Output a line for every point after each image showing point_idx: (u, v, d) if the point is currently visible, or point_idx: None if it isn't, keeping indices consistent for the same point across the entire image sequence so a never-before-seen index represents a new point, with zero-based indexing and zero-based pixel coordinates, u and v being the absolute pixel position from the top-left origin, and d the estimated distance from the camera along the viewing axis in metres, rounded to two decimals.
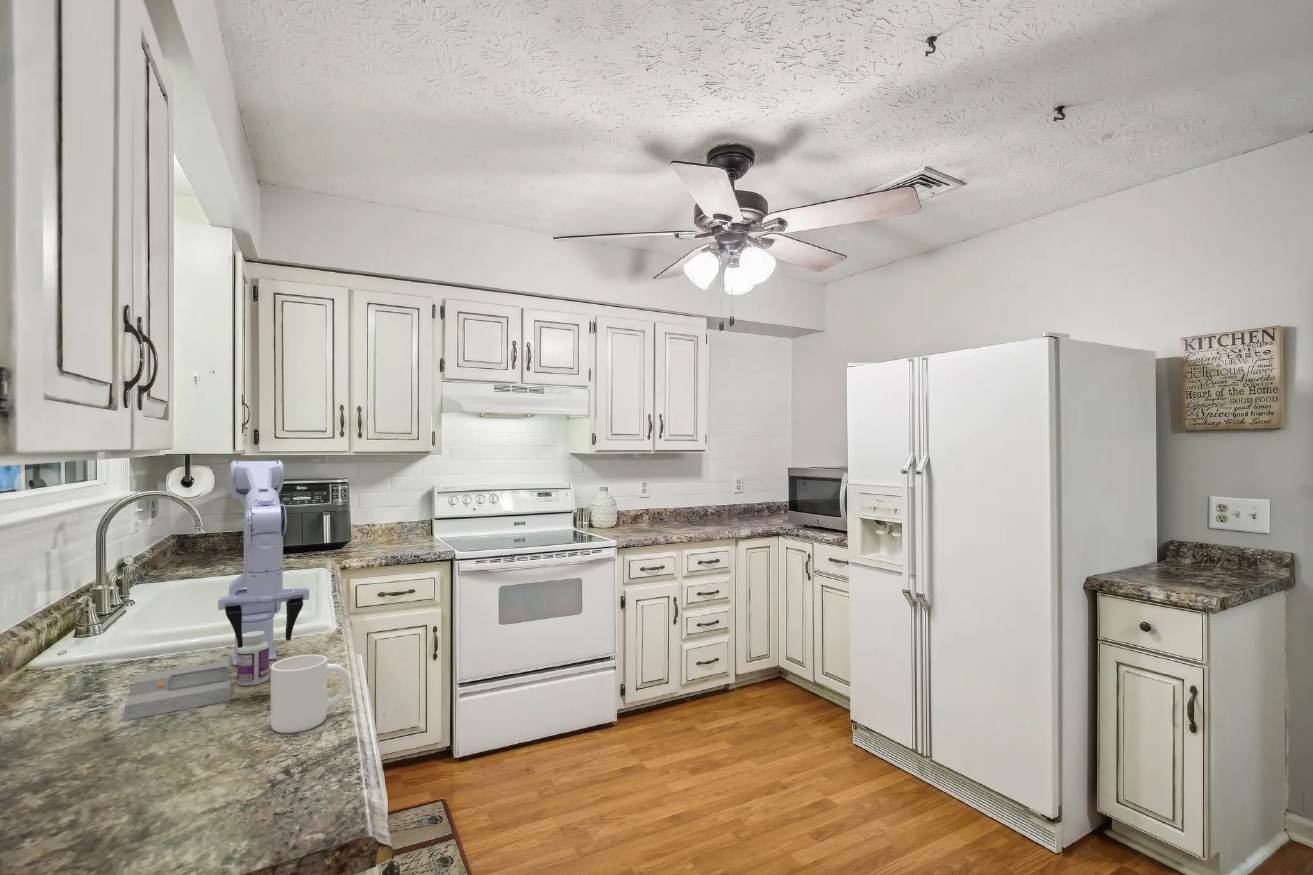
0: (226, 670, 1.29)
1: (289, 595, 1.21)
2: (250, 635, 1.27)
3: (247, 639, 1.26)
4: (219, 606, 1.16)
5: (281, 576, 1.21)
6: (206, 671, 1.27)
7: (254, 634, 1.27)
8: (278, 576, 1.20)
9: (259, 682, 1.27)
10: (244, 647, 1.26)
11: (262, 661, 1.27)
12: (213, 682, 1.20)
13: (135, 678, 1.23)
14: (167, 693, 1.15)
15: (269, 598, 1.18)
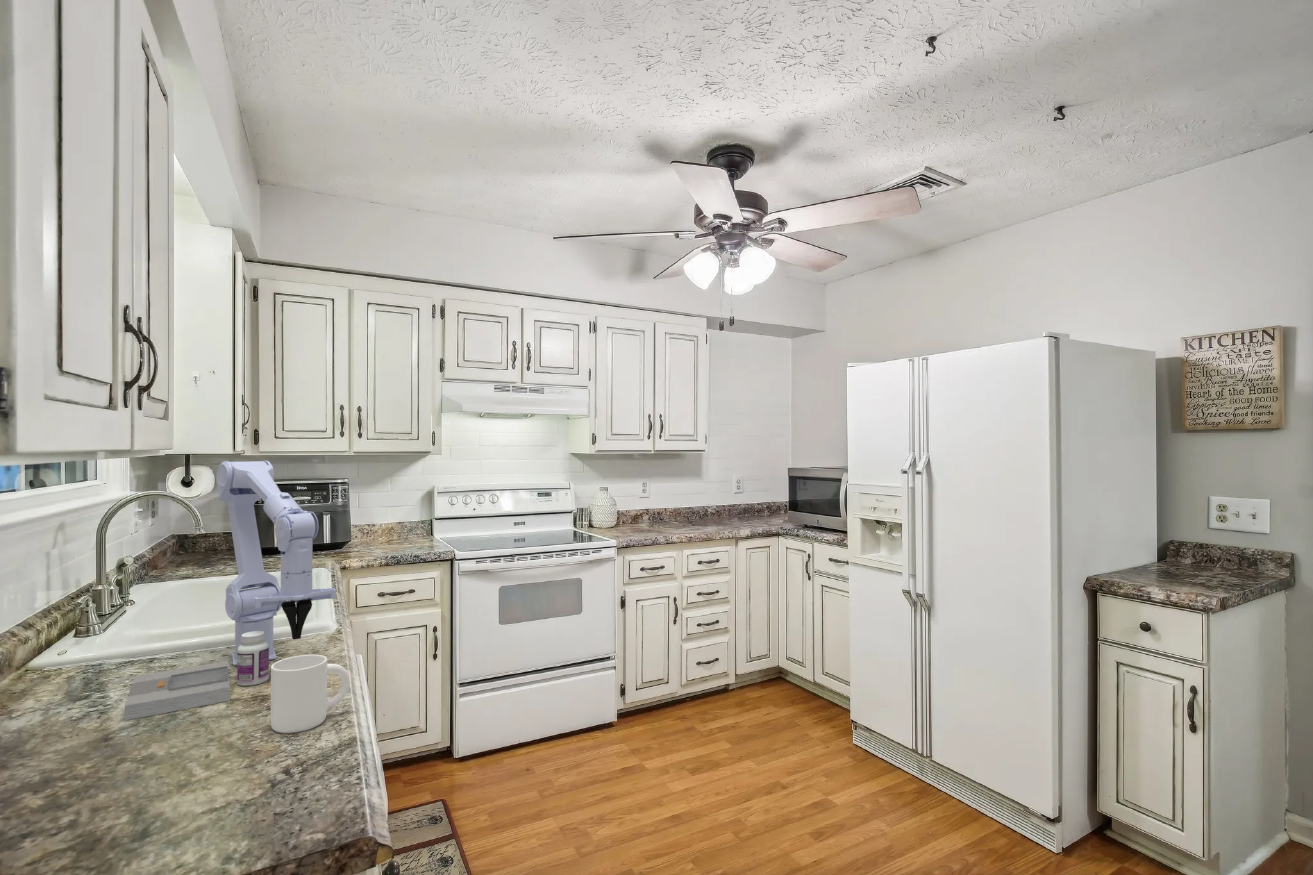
0: (226, 670, 1.29)
1: (318, 594, 1.33)
2: (251, 635, 1.27)
3: (247, 639, 1.26)
4: (256, 604, 1.28)
5: (311, 577, 1.33)
6: (206, 671, 1.27)
7: (254, 634, 1.27)
8: (308, 577, 1.32)
9: (259, 682, 1.27)
10: (244, 647, 1.26)
11: (261, 661, 1.27)
12: (213, 682, 1.20)
13: (135, 678, 1.23)
14: (167, 693, 1.15)
15: (301, 597, 1.30)
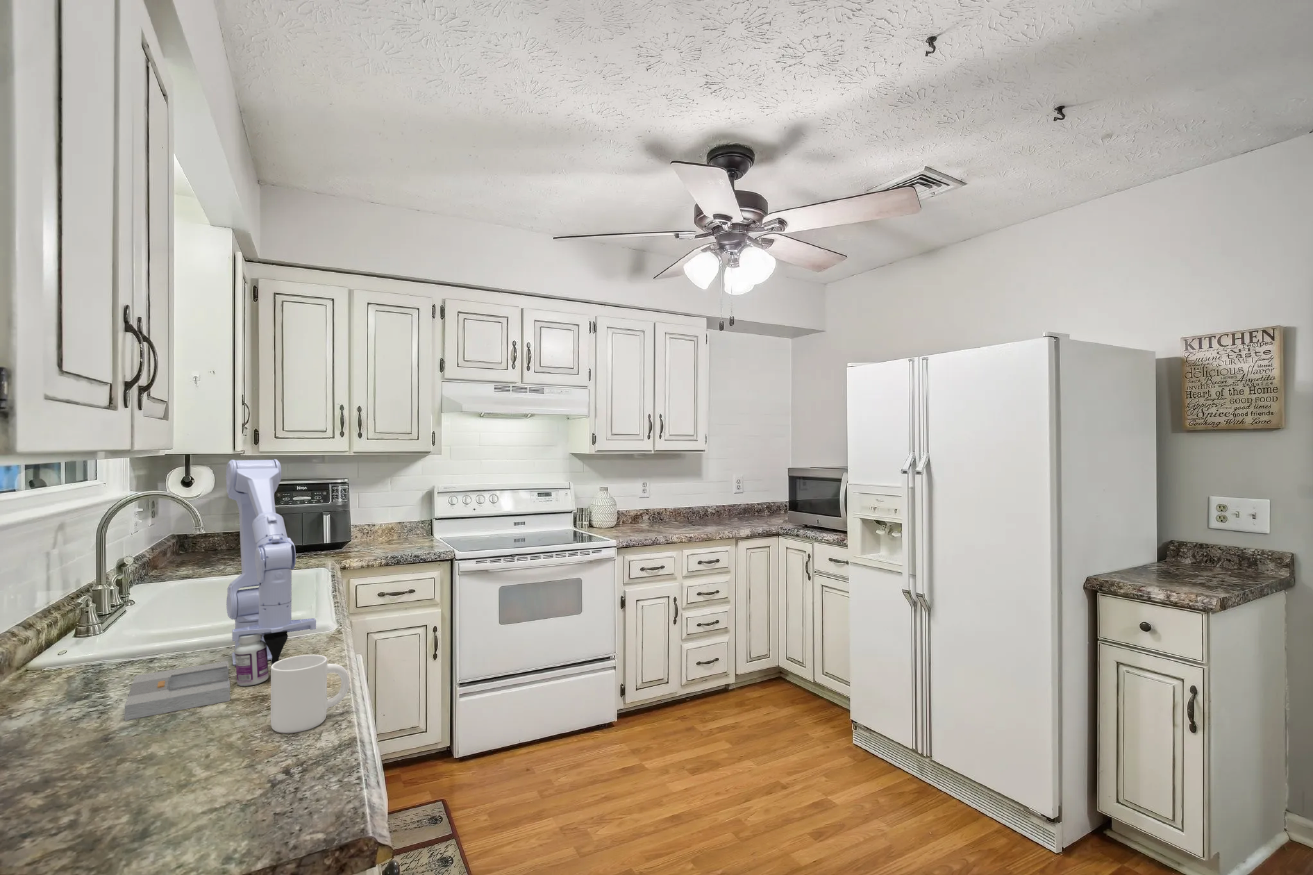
0: (226, 670, 1.29)
1: (297, 626, 1.31)
2: (247, 635, 1.27)
3: (243, 639, 1.26)
4: (233, 637, 1.25)
5: (290, 608, 1.31)
6: (206, 671, 1.27)
7: (251, 634, 1.27)
8: (287, 608, 1.30)
9: (258, 682, 1.26)
10: (241, 647, 1.26)
11: (260, 660, 1.27)
12: (213, 682, 1.20)
13: (135, 678, 1.23)
14: (167, 693, 1.15)
15: (279, 629, 1.27)
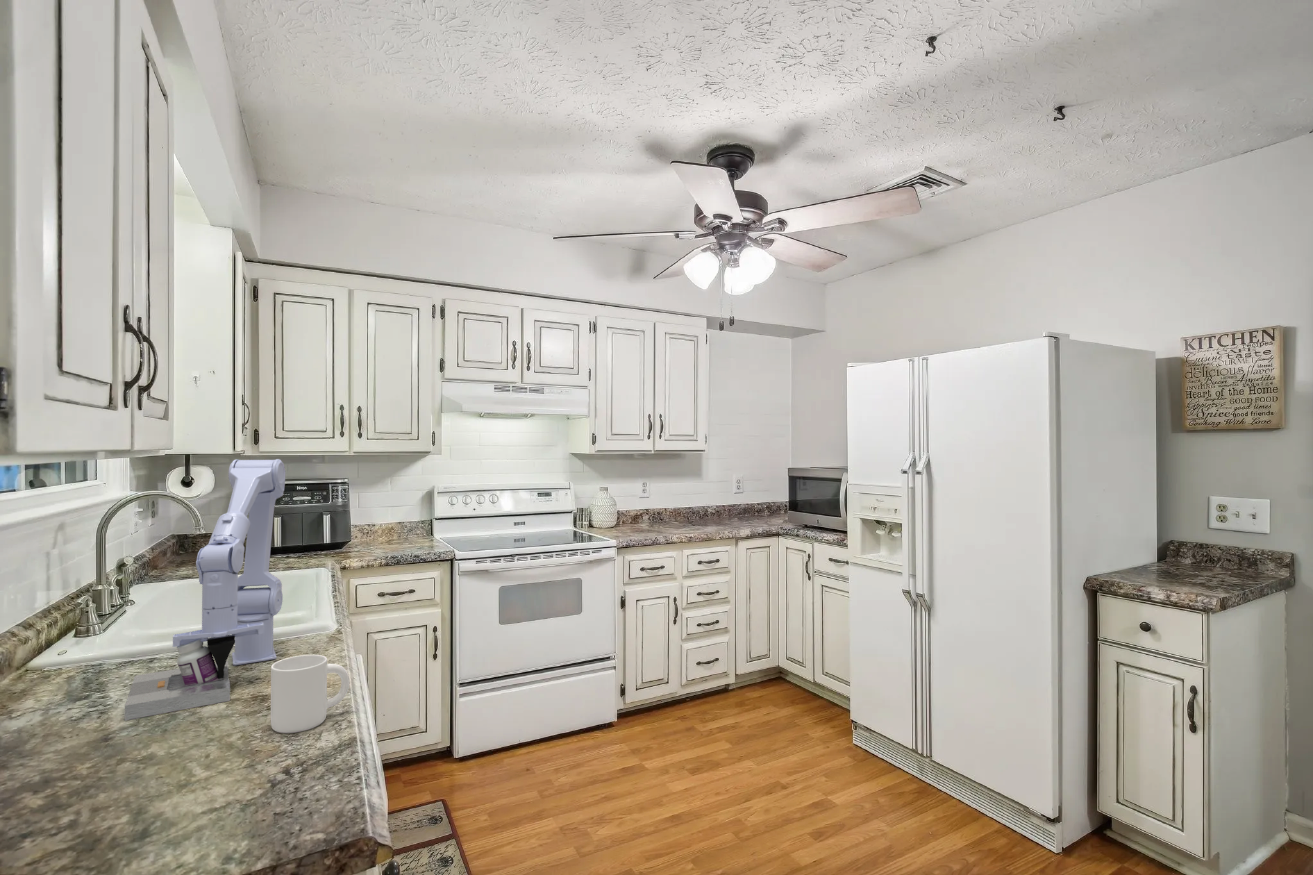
0: (226, 670, 1.29)
1: (243, 630, 1.25)
2: (185, 644, 1.21)
3: (180, 649, 1.20)
4: (174, 643, 1.20)
5: (236, 612, 1.25)
6: None
7: (188, 643, 1.21)
8: (232, 612, 1.24)
9: None
10: (181, 657, 1.20)
11: (203, 668, 1.21)
12: (213, 682, 1.20)
13: (135, 678, 1.23)
14: (167, 693, 1.15)
15: (223, 634, 1.22)
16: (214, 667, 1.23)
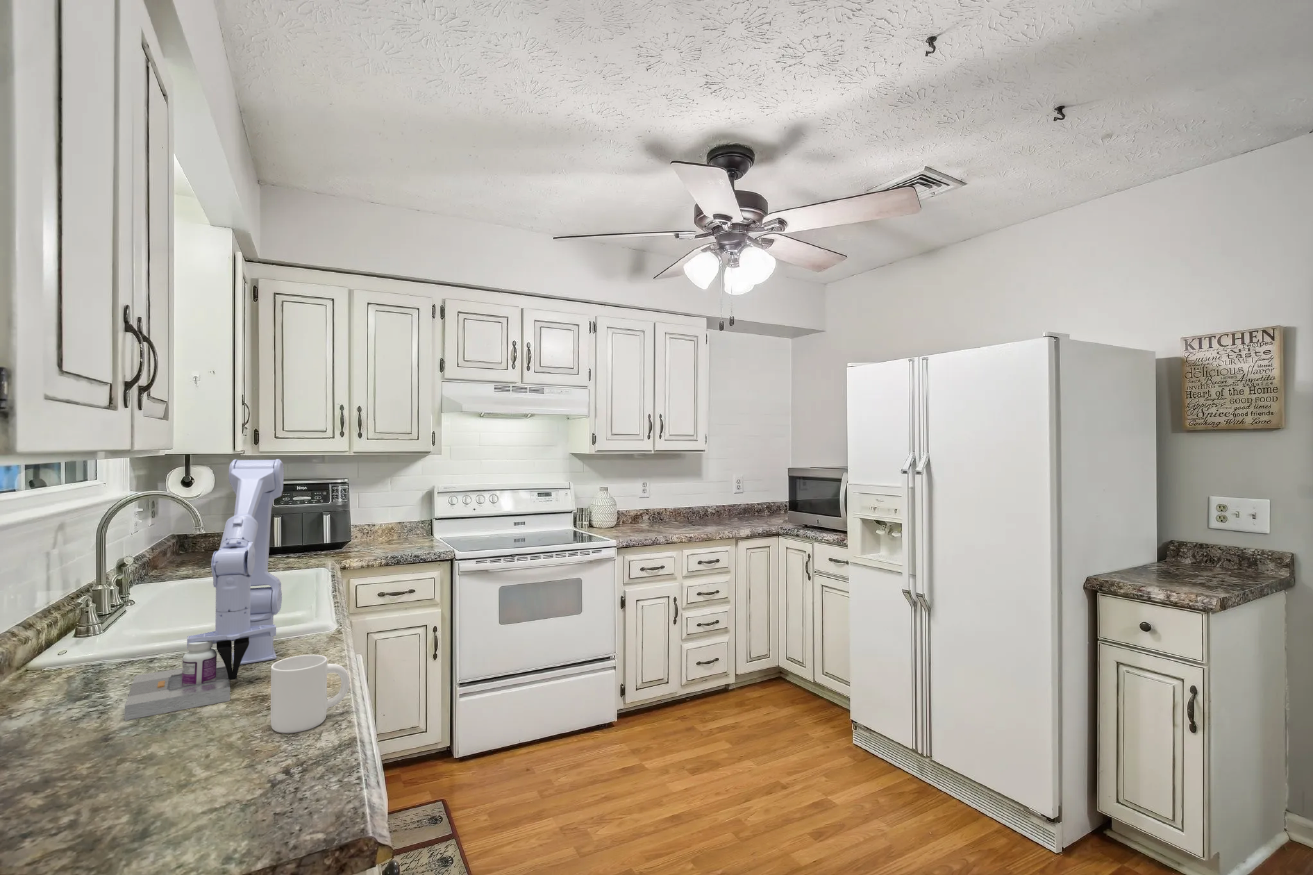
0: (226, 670, 1.29)
1: (256, 632, 1.27)
2: (196, 642, 1.22)
3: (191, 646, 1.21)
4: None
5: (248, 614, 1.27)
6: None
7: (200, 642, 1.22)
8: (245, 614, 1.26)
9: None
10: (188, 654, 1.21)
11: (205, 670, 1.22)
12: (213, 682, 1.20)
13: (135, 678, 1.23)
14: (167, 693, 1.15)
15: (236, 636, 1.23)
16: (215, 672, 1.24)
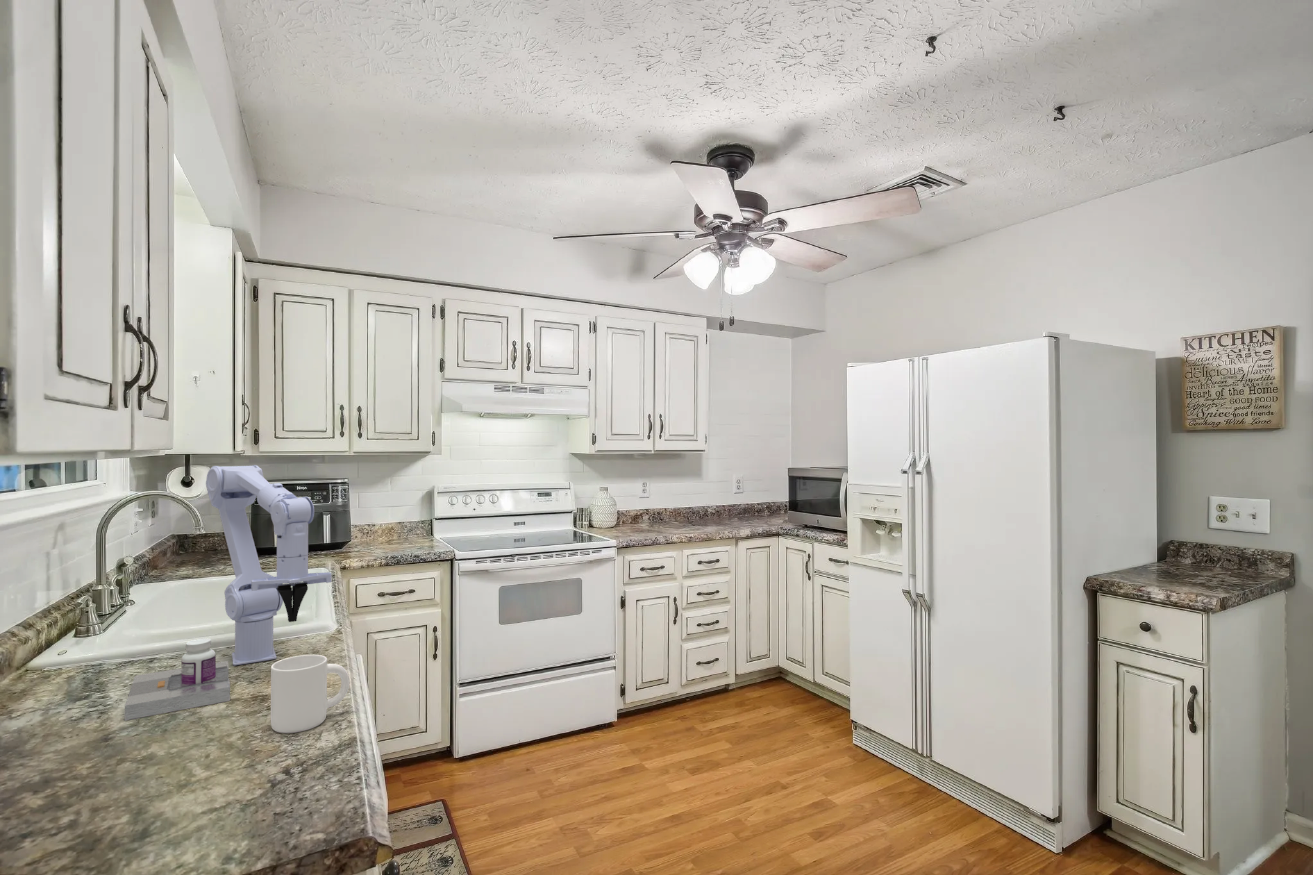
0: (226, 670, 1.29)
1: (314, 578, 1.35)
2: (194, 643, 1.22)
3: (189, 647, 1.21)
4: (253, 587, 1.30)
5: (307, 561, 1.35)
6: None
7: (198, 642, 1.22)
8: (304, 561, 1.34)
9: None
10: (187, 655, 1.21)
11: (204, 670, 1.21)
12: (213, 682, 1.20)
13: (135, 678, 1.23)
14: (167, 693, 1.15)
15: (297, 580, 1.32)
16: (214, 672, 1.24)
